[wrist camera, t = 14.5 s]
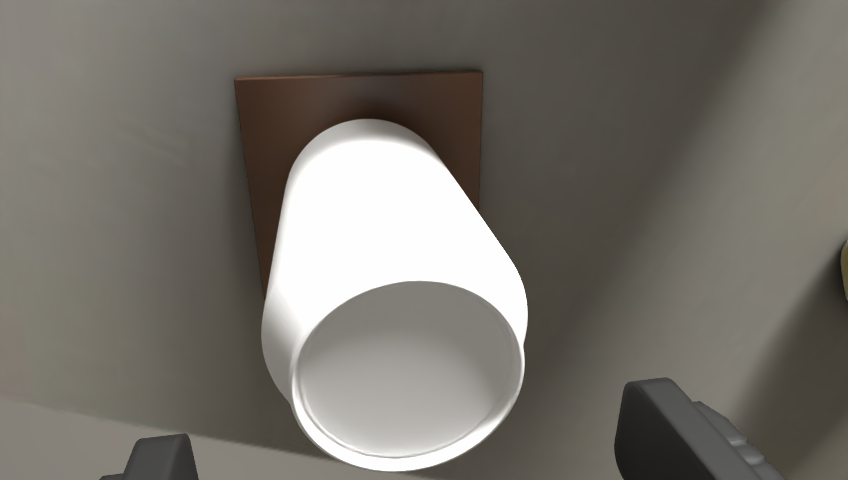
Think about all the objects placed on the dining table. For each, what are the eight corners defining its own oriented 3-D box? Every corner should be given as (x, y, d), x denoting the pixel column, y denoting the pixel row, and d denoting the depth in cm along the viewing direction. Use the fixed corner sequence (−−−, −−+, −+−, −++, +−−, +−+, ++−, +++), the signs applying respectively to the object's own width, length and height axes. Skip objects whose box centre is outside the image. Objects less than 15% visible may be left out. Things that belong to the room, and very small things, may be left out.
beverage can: (475, 181, 23) (613, 353, 12) (376, 289, 24) (421, 533, 14) (355, 77, 21) (394, 177, 10) (252, 203, 22) (186, 415, 11)
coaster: (265, 296, 24) (264, 302, 24) (235, 77, 21) (233, 79, 20) (473, 279, 25) (476, 284, 25) (480, 69, 22) (483, 71, 21)
